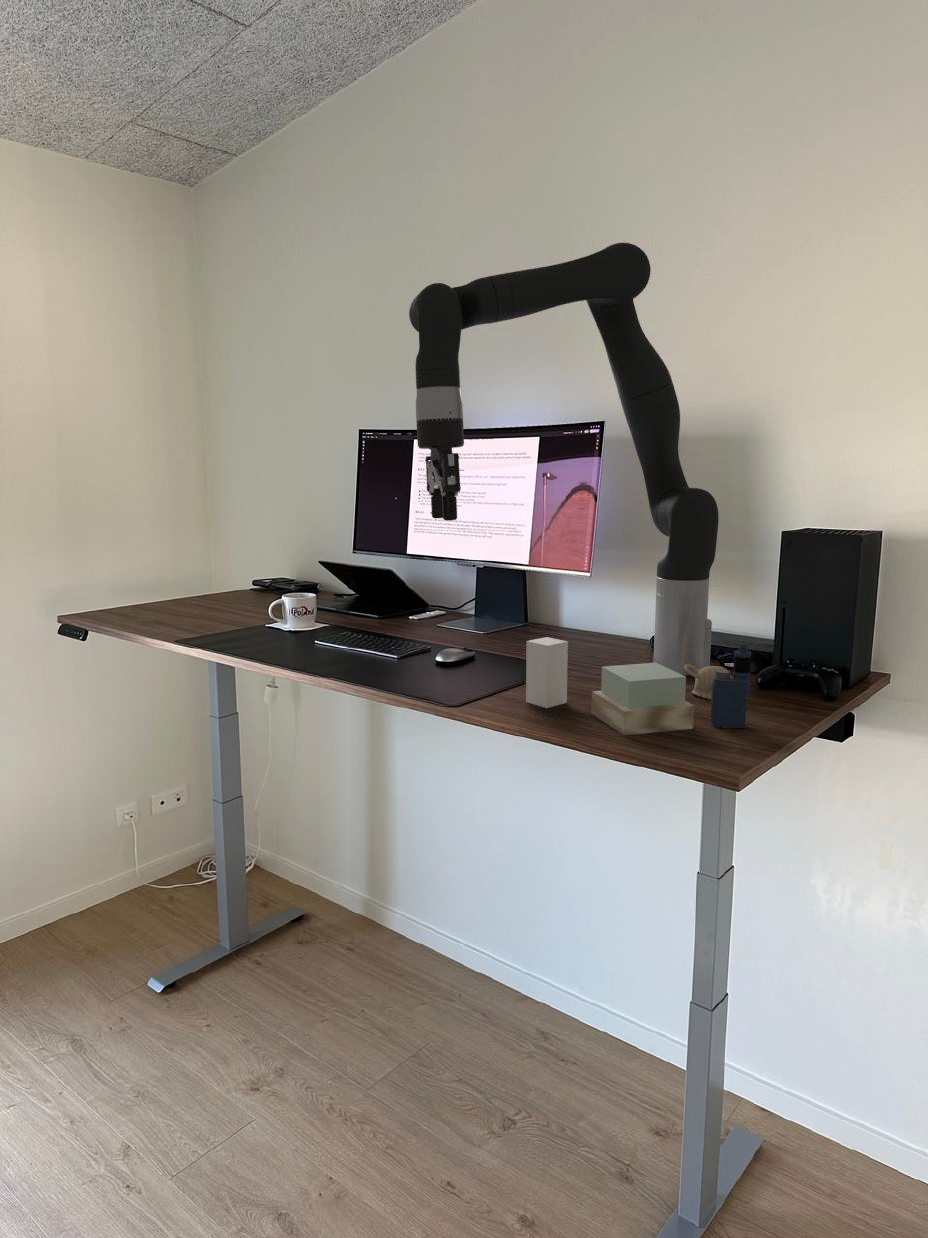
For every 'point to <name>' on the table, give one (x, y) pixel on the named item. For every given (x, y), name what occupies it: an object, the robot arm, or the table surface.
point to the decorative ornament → (703, 679)
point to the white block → (546, 672)
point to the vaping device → (731, 692)
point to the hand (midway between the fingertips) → (444, 519)
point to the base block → (642, 716)
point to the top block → (643, 685)
